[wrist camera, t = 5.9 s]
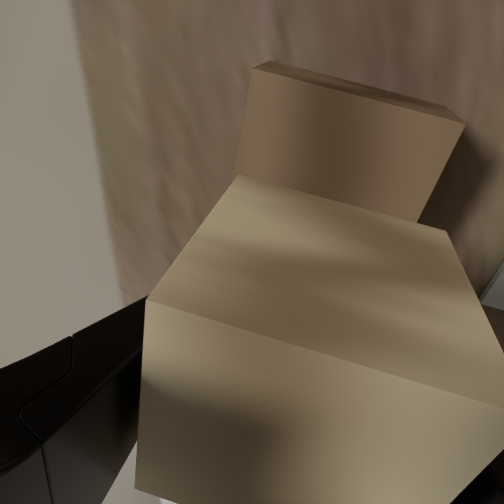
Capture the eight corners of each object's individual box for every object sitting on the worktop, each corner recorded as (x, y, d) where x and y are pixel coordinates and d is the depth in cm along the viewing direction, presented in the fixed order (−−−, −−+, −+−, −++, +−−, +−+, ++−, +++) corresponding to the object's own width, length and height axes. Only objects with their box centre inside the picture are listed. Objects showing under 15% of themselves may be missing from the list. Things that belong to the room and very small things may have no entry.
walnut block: (443, 104, 17) (466, 124, 14) (375, 252, 21) (380, 294, 18) (271, 60, 18) (252, 68, 14) (239, 212, 22) (218, 245, 19)
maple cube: (445, 231, 9) (535, 418, 5) (368, 373, 12) (380, 573, 7) (238, 174, 9) (145, 300, 5) (210, 324, 12) (134, 488, 8)
